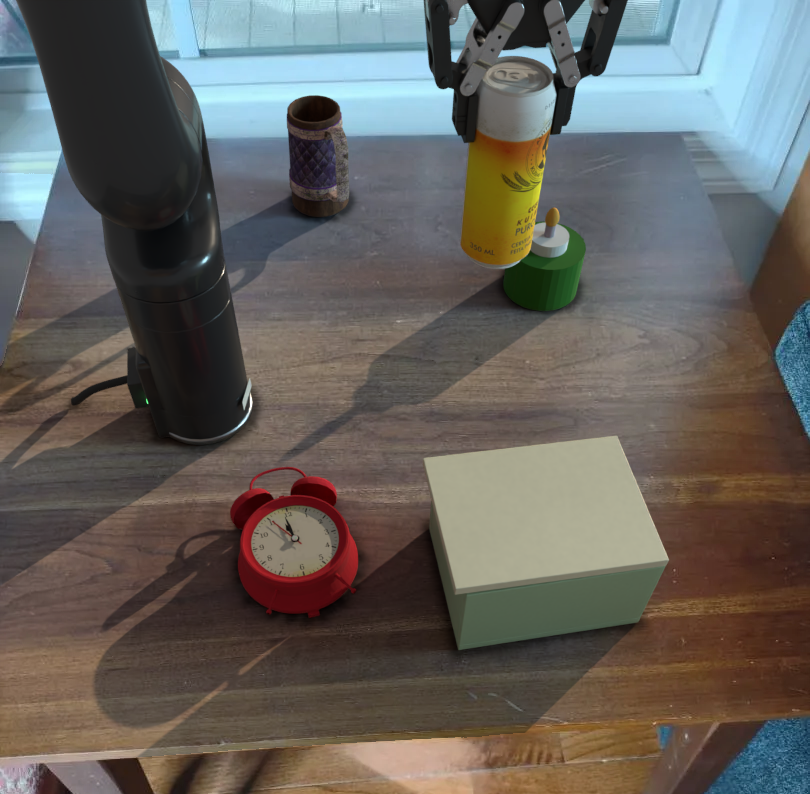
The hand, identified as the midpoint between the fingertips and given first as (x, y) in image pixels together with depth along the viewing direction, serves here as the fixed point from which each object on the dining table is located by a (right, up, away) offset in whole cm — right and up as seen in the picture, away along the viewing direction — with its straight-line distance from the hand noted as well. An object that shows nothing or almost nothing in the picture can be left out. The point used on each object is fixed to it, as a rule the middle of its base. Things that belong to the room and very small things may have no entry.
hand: (509, 132), depth 65 cm
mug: (-17, +9, +40) cm, 44 cm away
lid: (+3, -29, +3) cm, 29 cm away
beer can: (0, -6, +9) cm, 11 cm away
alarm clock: (-18, -32, +11) cm, 38 cm away
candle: (+7, -2, +32) cm, 33 cm away
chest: (+3, -34, +10) cm, 35 cm away
